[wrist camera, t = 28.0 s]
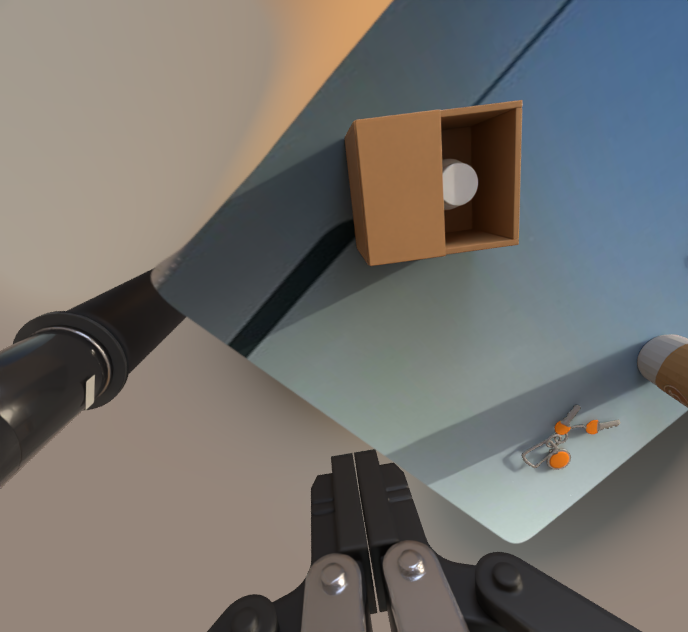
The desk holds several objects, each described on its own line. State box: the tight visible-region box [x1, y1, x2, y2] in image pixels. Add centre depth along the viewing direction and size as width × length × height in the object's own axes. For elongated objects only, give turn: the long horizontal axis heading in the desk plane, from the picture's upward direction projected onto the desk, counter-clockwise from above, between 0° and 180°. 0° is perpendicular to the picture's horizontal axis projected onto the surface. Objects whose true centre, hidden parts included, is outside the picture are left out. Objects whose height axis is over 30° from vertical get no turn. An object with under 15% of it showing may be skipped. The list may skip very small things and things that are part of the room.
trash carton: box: [345, 100, 522, 265], centre depth 35 cm, size 13×11×10 cm
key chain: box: [522, 405, 620, 470], centre depth 50 cm, size 13×7×1 cm, turn 134°
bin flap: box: [355, 110, 445, 266], centre depth 30 cm, size 6×11×1 cm, turn 7°
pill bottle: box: [442, 159, 478, 210], centre depth 35 cm, size 4×4×8 cm
